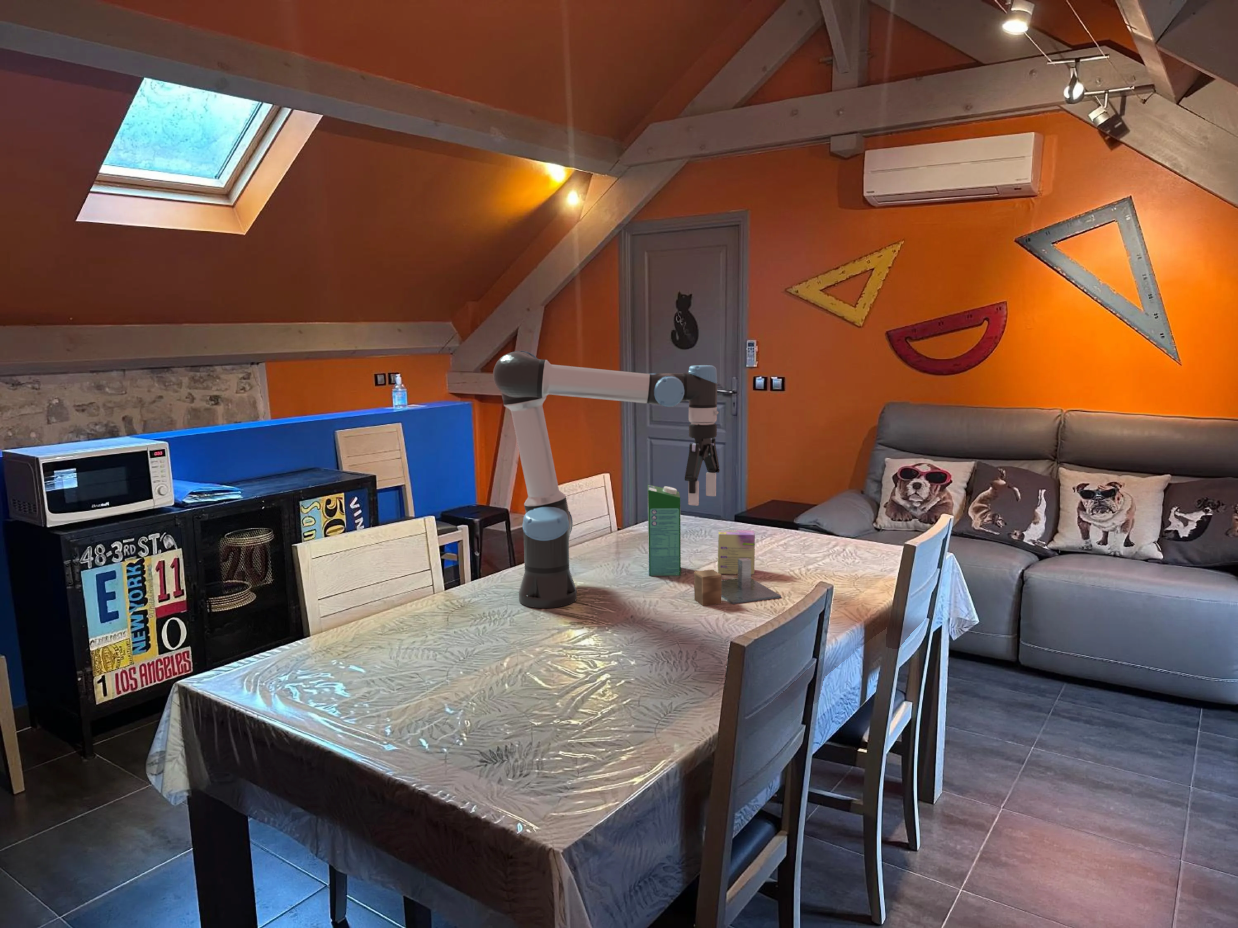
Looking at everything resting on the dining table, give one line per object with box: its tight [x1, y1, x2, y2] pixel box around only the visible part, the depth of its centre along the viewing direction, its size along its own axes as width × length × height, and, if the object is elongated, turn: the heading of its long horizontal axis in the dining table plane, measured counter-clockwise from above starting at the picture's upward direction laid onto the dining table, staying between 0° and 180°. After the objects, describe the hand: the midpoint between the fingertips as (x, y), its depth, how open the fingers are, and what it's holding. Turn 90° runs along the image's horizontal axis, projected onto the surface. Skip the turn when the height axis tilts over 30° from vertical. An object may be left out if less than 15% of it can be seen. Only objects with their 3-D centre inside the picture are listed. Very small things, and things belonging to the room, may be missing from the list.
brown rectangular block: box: [693, 569, 722, 607], centre depth 220 cm, size 5×5×8 cm
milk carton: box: [647, 484, 682, 577], centre depth 247 cm, size 9×9×25 cm
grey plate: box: [721, 558, 782, 605], centre depth 229 cm, size 14×18×8 cm
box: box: [717, 529, 756, 576], centre depth 246 cm, size 10×6×12 cm, turn 84°
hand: (702, 500), depth 234 cm, fingers open, 13 cm apart
